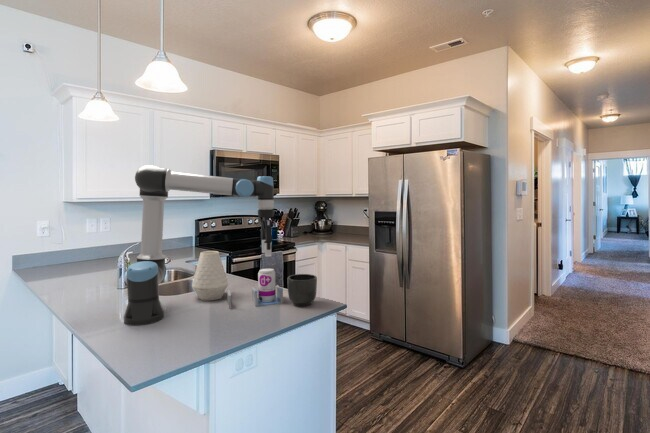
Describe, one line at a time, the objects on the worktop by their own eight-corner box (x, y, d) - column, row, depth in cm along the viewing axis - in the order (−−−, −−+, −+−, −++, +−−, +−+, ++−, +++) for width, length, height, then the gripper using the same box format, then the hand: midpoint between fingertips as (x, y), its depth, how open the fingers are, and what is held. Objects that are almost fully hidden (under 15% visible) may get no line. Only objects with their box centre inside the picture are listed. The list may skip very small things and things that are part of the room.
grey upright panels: (228, 308, 169) (228, 293, 169) (227, 301, 180) (226, 286, 180) (283, 303, 177) (282, 288, 176) (278, 296, 188) (278, 282, 188)
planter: (292, 299, 184) (291, 273, 183) (319, 300, 181) (319, 274, 180) (284, 307, 170) (283, 280, 169) (313, 309, 168) (313, 281, 167)
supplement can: (272, 303, 176) (271, 271, 175) (256, 302, 177) (255, 271, 176) (278, 298, 184) (277, 268, 183) (262, 297, 185) (261, 267, 184)
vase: (187, 296, 189) (186, 252, 188) (220, 291, 200) (219, 248, 198) (200, 304, 175) (198, 256, 174) (234, 298, 186) (233, 252, 185)
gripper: (278, 209, 168) (278, 258, 169) (269, 207, 190) (270, 250, 191) (261, 209, 166) (262, 259, 167) (254, 208, 187) (255, 251, 189)
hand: (266, 254), depth 179 cm, fingers open, 10 cm apart
